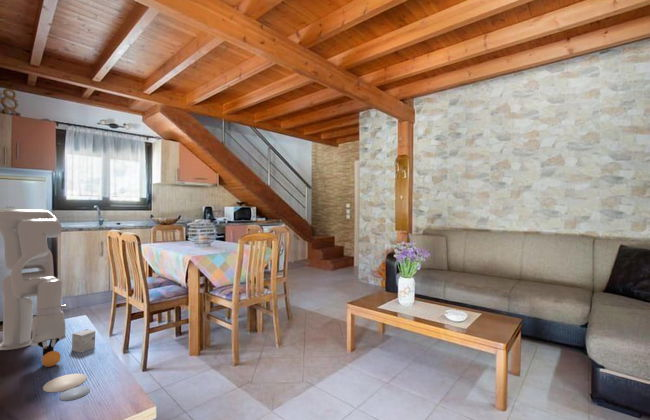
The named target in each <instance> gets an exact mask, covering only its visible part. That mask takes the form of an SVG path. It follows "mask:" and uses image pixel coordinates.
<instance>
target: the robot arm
mask: <svg viewBox="0 0 650 420" xmlns="http://www.w3.org/2000/svg"><path fill="white" fill-rule="evenodd" d="M0 233H1V234H0V235H2V238H3V242H4V263H5V267H6V268H7V269H8V270H9V271H10V274H8V275H6V276H5V277H4V278H3V279H2V280H1V291H2V299H3V322H2V342H0V351H11V350H13V351H14V350H18V349H23V348H26V347H29V346H31V347H40V348H42V357H43V356H44V355H45V354H46V353H48V352H50V351H55V350H54V348H55V346H56V344H57V343H58V342H59V341H62V340H64V339H66V338H67V337H66V330H67V329H66V319H65V314H64V311H63V310H64V309H67V306H66V304H62V302H63V301H62V298H63V296H62V294H63V282H62V281H63V280H61V279H60V278H58V277H56V276H55V275H54V274H55V273H54V259H53V254H52V251H51V250H50V249H49V246H48V239H49V238H58V237H59V236H60V235H61V234H62V223H61V222H60V220H59V219H58V218H57V217H56V216H55V215H54V214H53V213H52V211H49V210H47V209H26V208H25V209H24V208H22V209H19V208H18V209H13V208H12V209H6V210H2V211H1V212H0ZM47 238H48V239H47ZM32 269H37V271H24V270H32ZM23 271H24V272H23ZM35 297H36V315H35V314H34V302H33V300H32V299H31V298H35ZM48 341H49V344H48Z"/></svg>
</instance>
